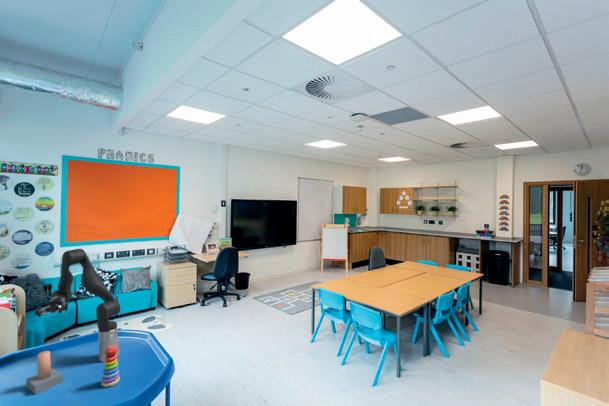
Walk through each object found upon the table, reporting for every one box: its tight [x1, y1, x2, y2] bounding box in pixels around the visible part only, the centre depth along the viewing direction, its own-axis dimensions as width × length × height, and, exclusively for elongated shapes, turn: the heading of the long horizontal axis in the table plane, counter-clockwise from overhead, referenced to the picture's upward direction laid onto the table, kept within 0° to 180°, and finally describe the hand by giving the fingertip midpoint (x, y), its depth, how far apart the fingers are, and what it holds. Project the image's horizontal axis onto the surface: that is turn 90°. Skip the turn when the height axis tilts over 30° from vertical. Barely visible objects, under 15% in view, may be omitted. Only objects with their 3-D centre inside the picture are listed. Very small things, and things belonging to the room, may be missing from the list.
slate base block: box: [25, 368, 64, 395], centre depth 152 cm, size 11×11×4 cm
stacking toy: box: [100, 346, 121, 388], centre depth 153 cm, size 8×8×19 cm
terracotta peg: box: [36, 350, 52, 380], centre depth 151 cm, size 5×5×12 cm
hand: (49, 313), depth 167 cm, fingers open, 8 cm apart
